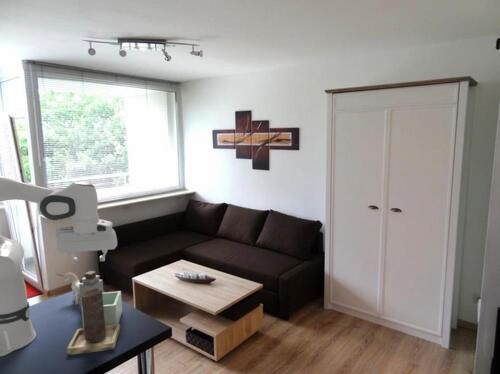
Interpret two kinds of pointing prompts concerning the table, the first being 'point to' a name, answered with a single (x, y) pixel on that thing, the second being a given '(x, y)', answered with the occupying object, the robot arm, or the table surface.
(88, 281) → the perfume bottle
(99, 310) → the wooden log
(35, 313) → the table surface
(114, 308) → the mint green open box
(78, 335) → the tray
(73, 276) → the unicorn figurine
